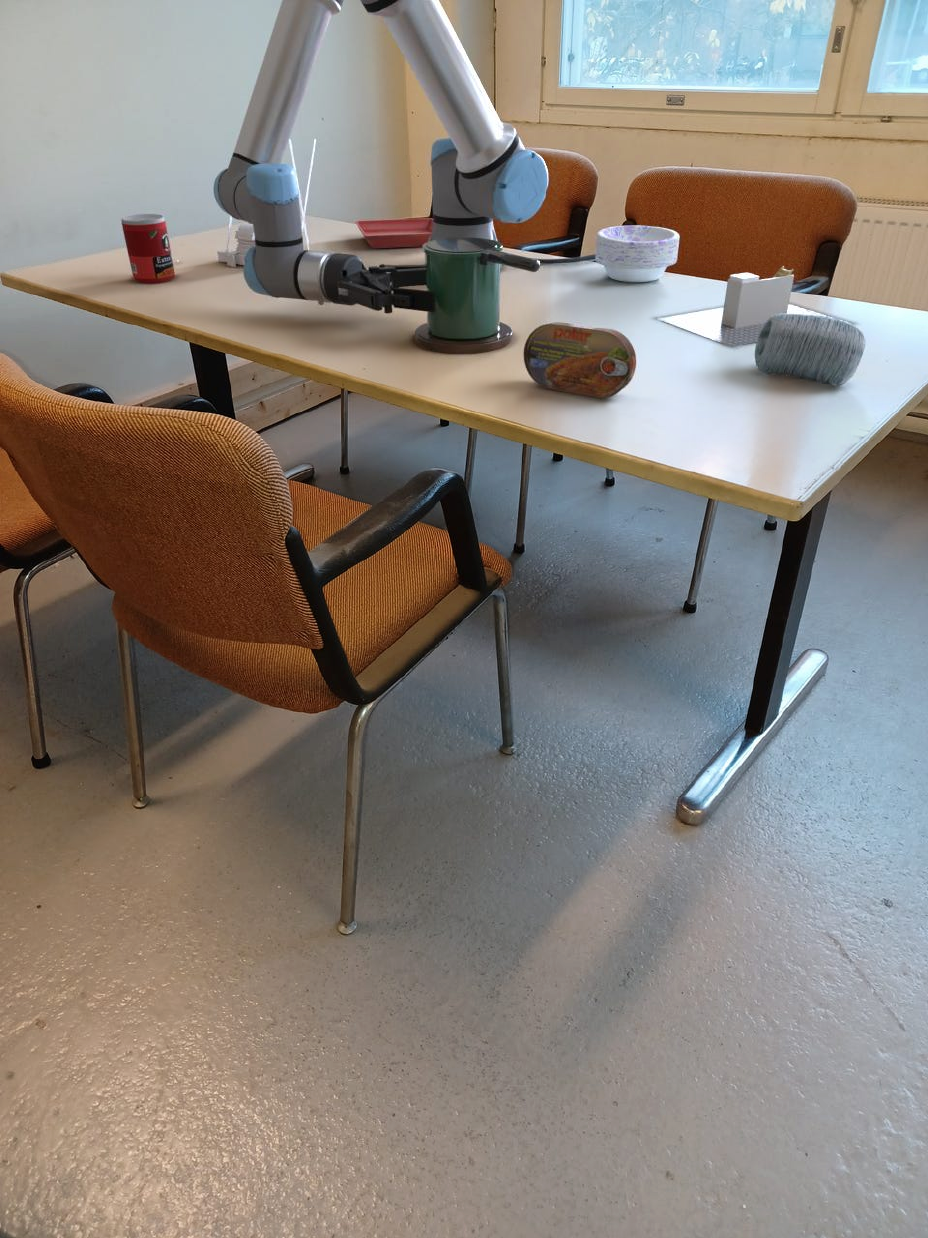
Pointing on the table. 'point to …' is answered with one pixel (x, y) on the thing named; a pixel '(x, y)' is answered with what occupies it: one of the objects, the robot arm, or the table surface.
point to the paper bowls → (636, 252)
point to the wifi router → (247, 231)
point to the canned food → (148, 248)
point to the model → (743, 309)
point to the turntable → (463, 341)
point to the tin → (580, 359)
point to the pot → (467, 285)
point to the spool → (809, 348)
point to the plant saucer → (396, 232)
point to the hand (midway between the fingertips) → (455, 291)
